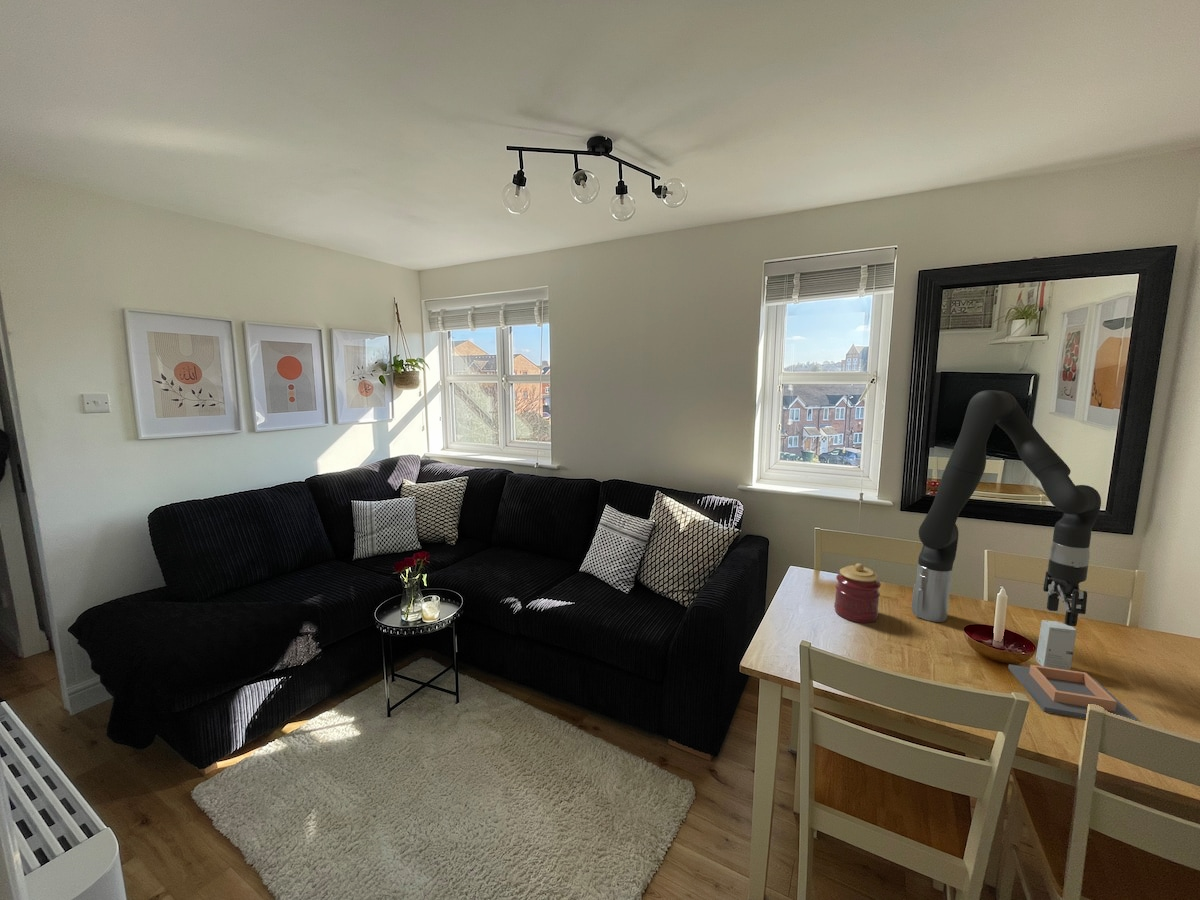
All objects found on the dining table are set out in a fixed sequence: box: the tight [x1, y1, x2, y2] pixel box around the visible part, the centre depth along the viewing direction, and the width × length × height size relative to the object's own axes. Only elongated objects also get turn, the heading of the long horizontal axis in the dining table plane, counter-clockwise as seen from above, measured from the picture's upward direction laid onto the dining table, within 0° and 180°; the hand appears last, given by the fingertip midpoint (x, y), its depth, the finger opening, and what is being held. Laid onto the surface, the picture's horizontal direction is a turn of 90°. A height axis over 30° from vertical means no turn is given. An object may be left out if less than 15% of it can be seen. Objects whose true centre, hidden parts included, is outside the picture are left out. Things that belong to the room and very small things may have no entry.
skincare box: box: [1035, 619, 1078, 670], centre depth 133 cm, size 6×4×12 cm
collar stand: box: [1007, 663, 1142, 722], centre depth 121 cm, size 18×18×4 cm
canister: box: [833, 562, 881, 624], centre depth 162 cm, size 13×13×18 cm
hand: (1060, 617), depth 132 cm, fingers open, 8 cm apart
